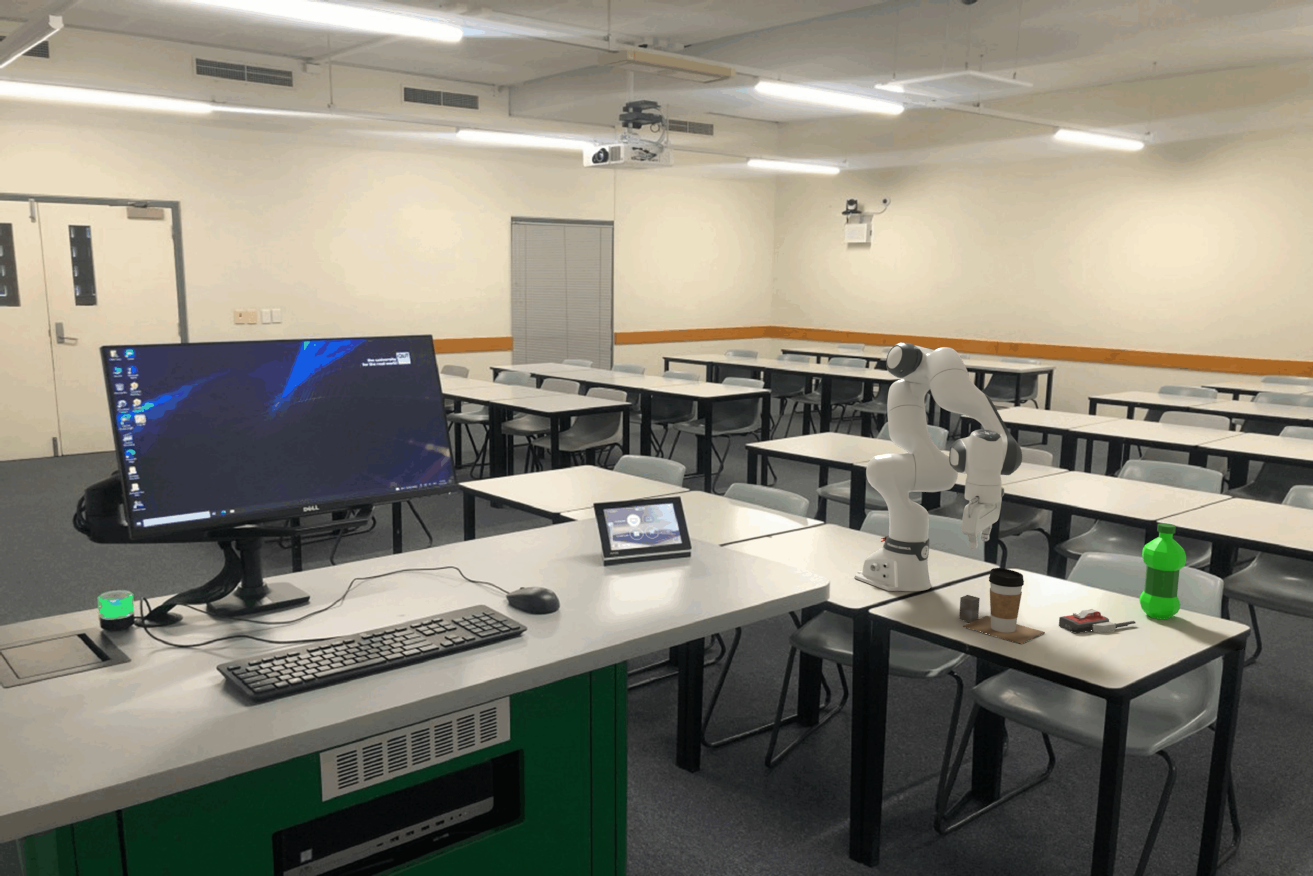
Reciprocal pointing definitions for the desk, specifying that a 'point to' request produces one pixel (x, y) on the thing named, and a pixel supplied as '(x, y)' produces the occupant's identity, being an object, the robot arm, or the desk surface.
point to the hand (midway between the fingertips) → (979, 544)
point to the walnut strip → (971, 613)
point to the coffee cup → (1005, 598)
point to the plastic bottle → (1162, 574)
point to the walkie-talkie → (1089, 622)
